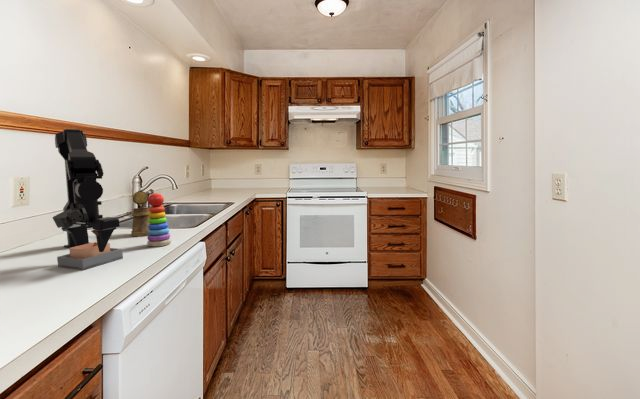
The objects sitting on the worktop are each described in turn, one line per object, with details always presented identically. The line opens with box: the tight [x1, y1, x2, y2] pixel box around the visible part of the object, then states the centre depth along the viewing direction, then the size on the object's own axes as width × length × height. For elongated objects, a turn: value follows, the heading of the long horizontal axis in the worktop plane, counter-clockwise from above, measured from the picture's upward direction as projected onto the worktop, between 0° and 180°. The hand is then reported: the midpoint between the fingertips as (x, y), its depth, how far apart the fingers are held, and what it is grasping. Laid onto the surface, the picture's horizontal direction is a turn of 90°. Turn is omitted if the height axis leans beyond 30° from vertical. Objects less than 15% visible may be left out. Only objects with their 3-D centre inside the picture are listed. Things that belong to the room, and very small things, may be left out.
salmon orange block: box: [68, 241, 111, 259], centre depth 102 cm, size 6×8×4 cm
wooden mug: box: [130, 190, 151, 237], centre depth 144 cm, size 9×14×18 cm, turn 27°
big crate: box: [56, 247, 124, 271], centre depth 102 cm, size 10×12×3 cm
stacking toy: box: [146, 192, 172, 248], centre depth 123 cm, size 8×8×19 cm
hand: (90, 250), depth 102 cm, fingers open, 9 cm apart
